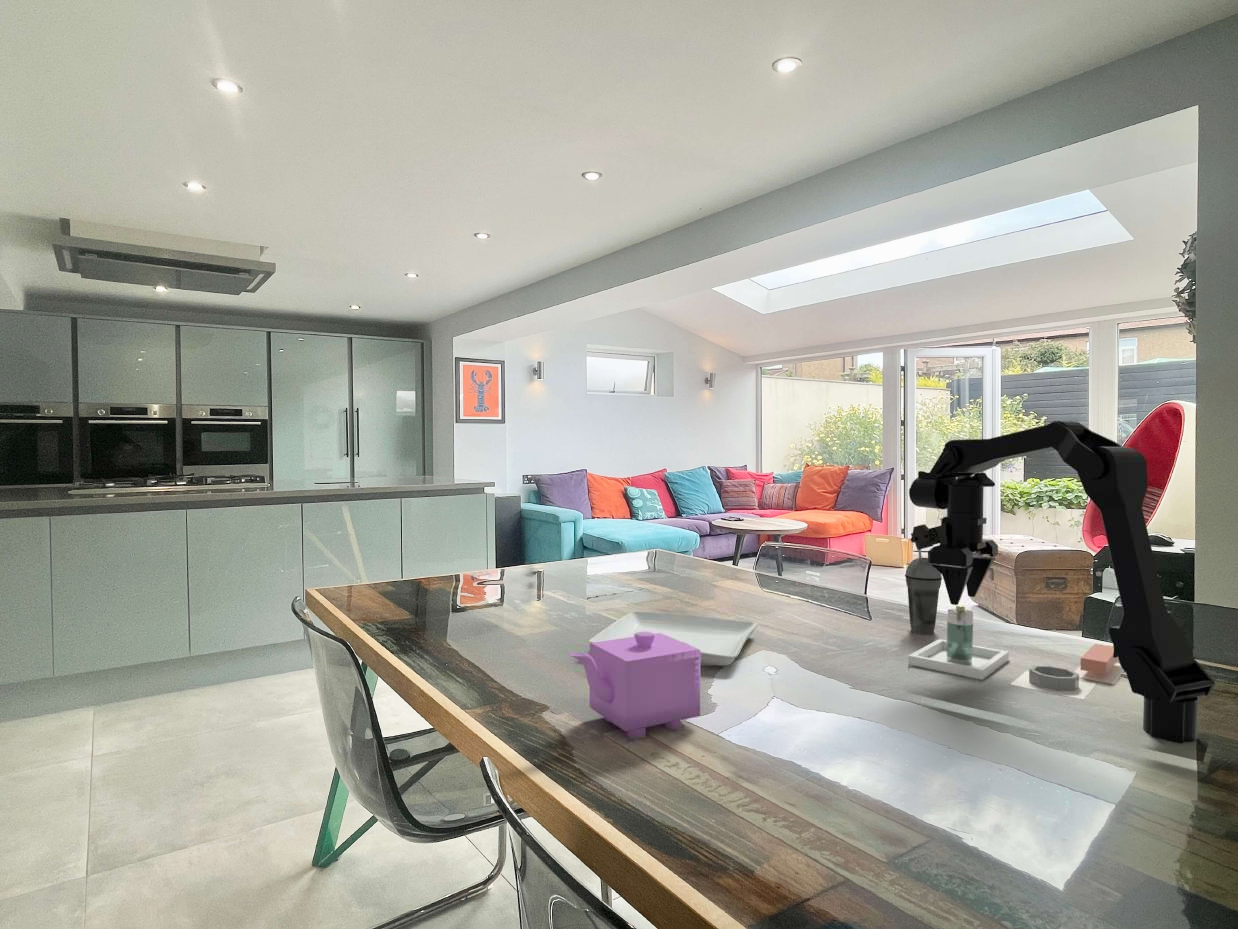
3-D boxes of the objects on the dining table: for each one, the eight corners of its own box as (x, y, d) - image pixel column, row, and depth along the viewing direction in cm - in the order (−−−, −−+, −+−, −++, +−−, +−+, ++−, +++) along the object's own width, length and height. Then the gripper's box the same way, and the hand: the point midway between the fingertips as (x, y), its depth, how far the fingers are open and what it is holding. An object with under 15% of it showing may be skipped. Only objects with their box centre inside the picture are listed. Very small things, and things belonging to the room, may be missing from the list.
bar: (1106, 674, 118) (1106, 662, 118) (1080, 669, 120) (1080, 657, 120) (1119, 659, 127) (1119, 647, 127) (1094, 654, 129) (1095, 643, 129)
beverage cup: (945, 637, 148) (946, 539, 148) (907, 635, 150) (909, 538, 149) (936, 628, 155) (938, 535, 155) (900, 626, 157) (902, 534, 156)
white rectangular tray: (982, 685, 118) (982, 670, 118) (908, 669, 126) (908, 655, 126) (1008, 665, 129) (1008, 651, 129) (938, 652, 137) (939, 639, 137)
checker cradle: (1099, 709, 108) (1099, 689, 107) (1010, 690, 116) (1010, 672, 116) (1128, 670, 127) (1128, 653, 127) (1049, 656, 135) (1050, 640, 135)
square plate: (736, 677, 123) (736, 654, 123) (585, 660, 131) (585, 639, 131) (758, 637, 148) (758, 618, 148) (631, 626, 157) (631, 608, 157)
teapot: (673, 701, 110) (674, 618, 110) (714, 723, 101) (715, 634, 101) (553, 725, 100) (553, 635, 100) (586, 752, 91) (587, 653, 91)
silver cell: (967, 667, 125) (968, 610, 124) (943, 662, 127) (944, 606, 127) (975, 662, 128) (976, 606, 127) (951, 657, 130) (952, 603, 130)
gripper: (936, 505, 139) (934, 587, 140) (897, 511, 125) (896, 601, 126) (999, 509, 132) (997, 595, 132) (966, 516, 118) (964, 612, 118)
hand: (963, 600), depth 127 cm, fingers open, 9 cm apart
